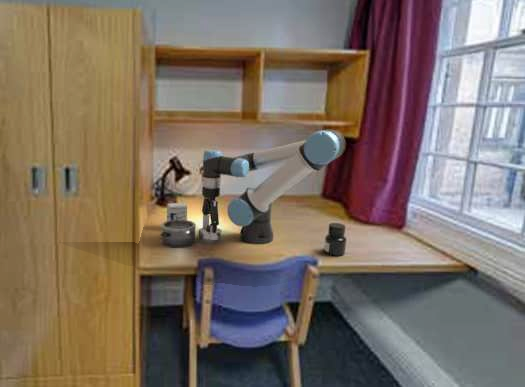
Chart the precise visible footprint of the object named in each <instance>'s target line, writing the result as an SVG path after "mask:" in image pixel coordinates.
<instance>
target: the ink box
mask: <svg viewBox="0 0 525 387" xmlns="http://www.w3.org/2000/svg"><path fill="white" fill-rule="evenodd" d="M169 220H188V205H187V204H186V203H185V202H178V203H177V202H175V203H173V202H172V203H167V204H166V221H169Z"/></svg>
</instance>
